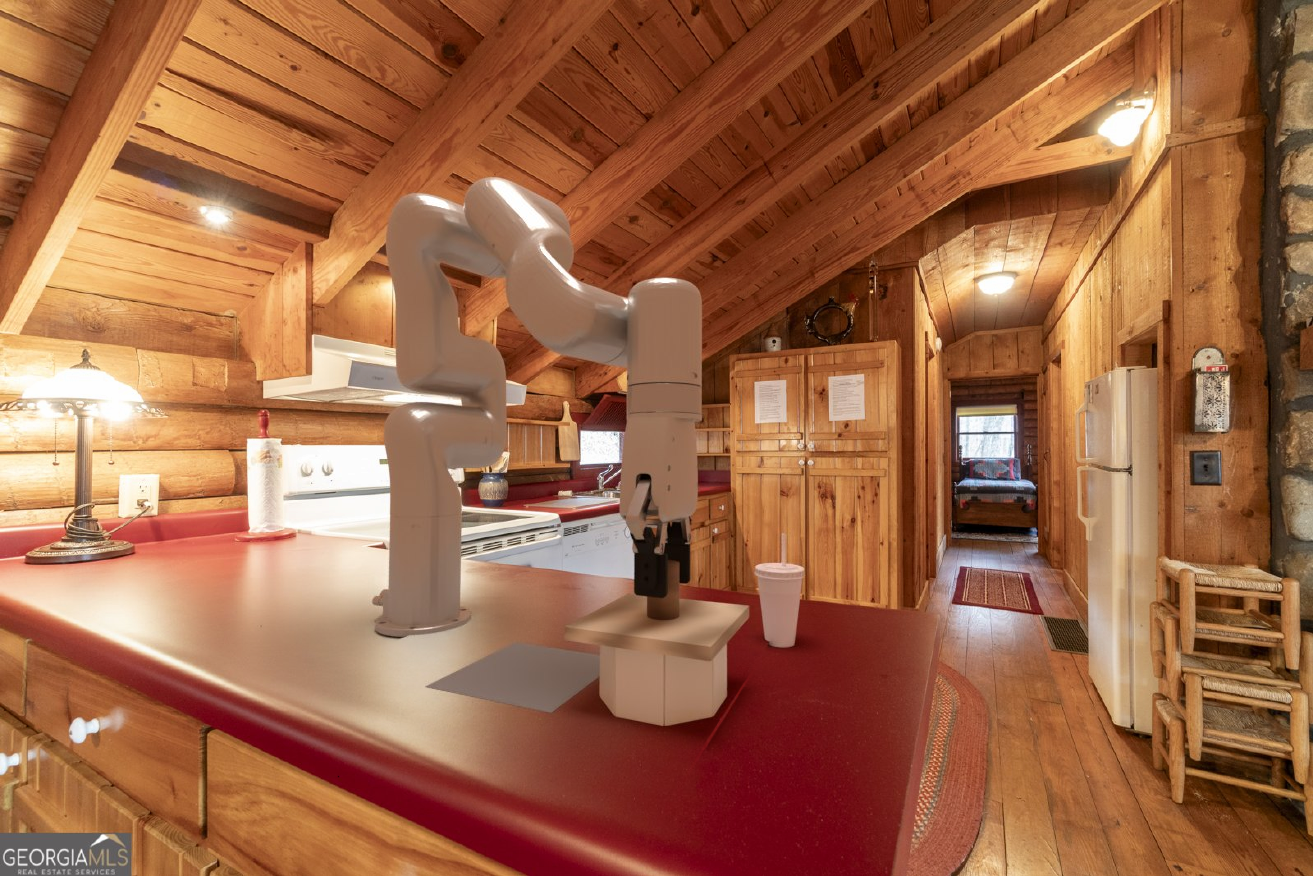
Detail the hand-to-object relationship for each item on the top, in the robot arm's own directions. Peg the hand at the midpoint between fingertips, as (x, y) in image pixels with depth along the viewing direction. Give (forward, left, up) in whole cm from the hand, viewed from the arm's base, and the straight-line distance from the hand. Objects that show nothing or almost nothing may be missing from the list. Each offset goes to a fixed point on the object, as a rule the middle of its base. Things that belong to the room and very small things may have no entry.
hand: (663, 586), depth 55 cm
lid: (0, 0, -4) cm, 4 cm away
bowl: (0, 0, -11) cm, 11 cm away
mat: (-15, 0, -11) cm, 19 cm away
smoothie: (+8, +22, -11) cm, 26 cm away
